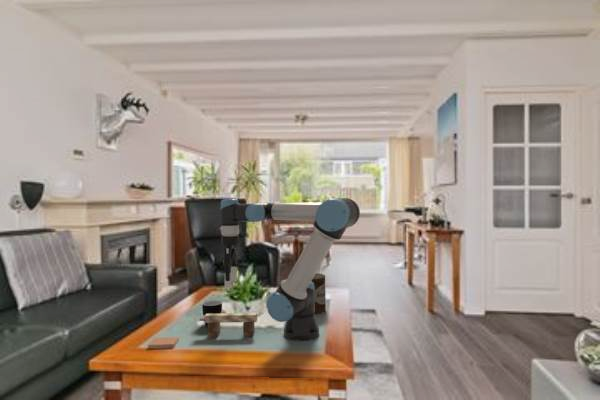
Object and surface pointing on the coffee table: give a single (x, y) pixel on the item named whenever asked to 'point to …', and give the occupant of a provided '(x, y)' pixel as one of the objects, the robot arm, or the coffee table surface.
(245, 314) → the beige stone bar
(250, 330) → the tool rest
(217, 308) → the mug
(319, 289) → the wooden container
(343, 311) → the coffee table surface
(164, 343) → the tile
